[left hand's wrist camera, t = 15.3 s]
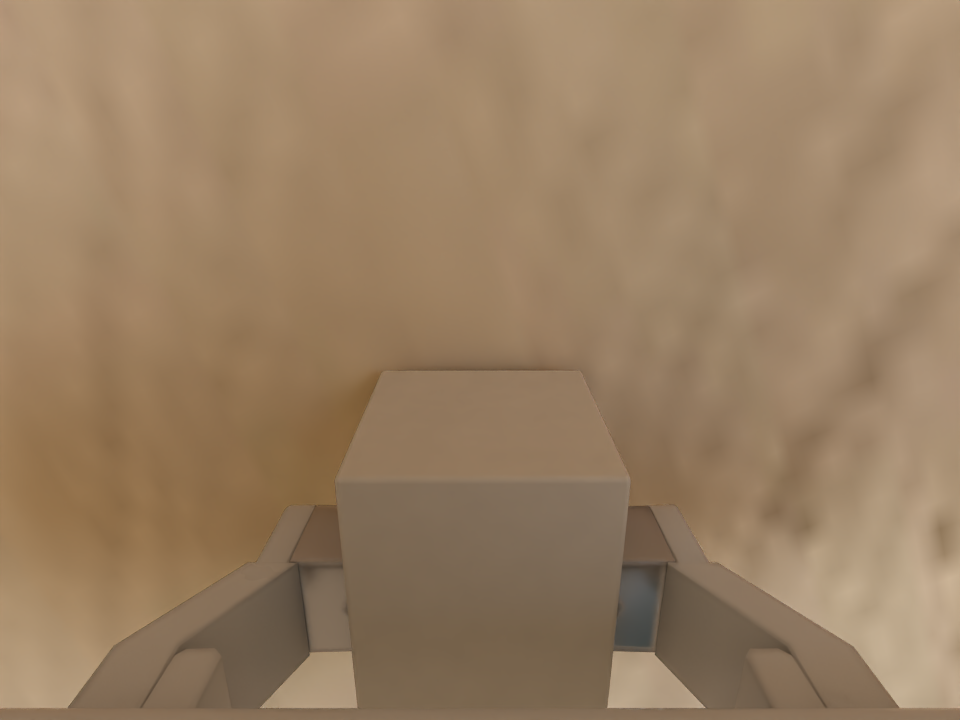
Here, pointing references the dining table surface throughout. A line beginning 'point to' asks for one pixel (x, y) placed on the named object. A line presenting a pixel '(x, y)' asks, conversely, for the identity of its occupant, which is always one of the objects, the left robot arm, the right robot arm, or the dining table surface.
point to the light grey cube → (482, 541)
